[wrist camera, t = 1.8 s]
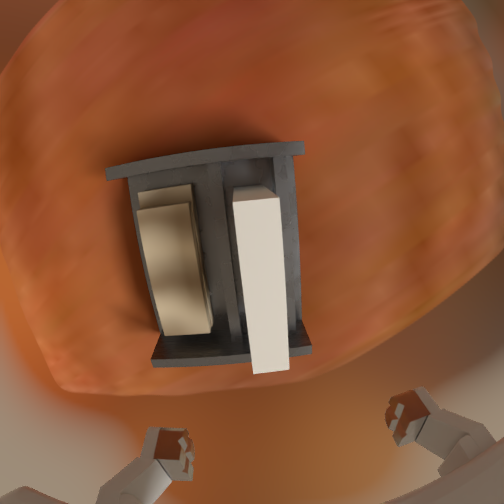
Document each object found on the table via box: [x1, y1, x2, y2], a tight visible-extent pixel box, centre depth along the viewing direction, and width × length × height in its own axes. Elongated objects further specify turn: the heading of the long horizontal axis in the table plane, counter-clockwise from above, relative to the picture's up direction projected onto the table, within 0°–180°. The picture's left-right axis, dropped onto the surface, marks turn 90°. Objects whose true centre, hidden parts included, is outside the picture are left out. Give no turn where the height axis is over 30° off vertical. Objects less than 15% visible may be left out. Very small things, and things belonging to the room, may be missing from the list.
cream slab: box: [233, 185, 289, 374], centre depth 26 cm, size 14×3×12 cm, turn 6°
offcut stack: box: [137, 183, 214, 336], centre depth 29 cm, size 16×6×4 cm, turn 6°
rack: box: [105, 141, 312, 367], centre depth 30 cm, size 22×18×7 cm
